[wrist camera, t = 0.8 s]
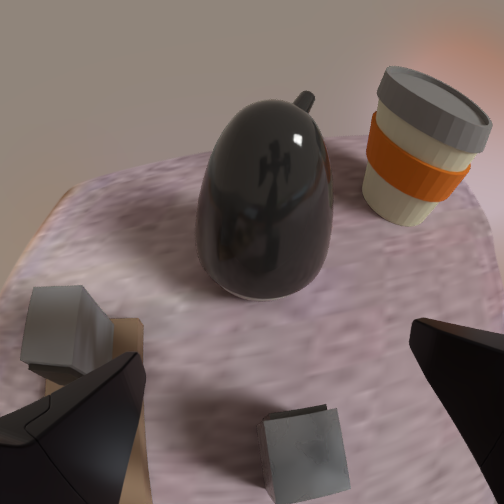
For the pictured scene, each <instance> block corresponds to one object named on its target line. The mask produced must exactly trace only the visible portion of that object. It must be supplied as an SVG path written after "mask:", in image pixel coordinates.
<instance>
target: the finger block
mask: <svg viewBox="0 0 504 504" xmlns="http://www.w3.org/2000/svg"><path fill="white" fill-rule="evenodd" d="M256 428H257V435H258V442H259V449H260V456H261V463H262V470H263V477H264V483H265V489H266V491H267V492H268V494H269V496H270V497H271V499H272V500H273V502H274V503H275V504H291V503H296V502H301V501H306V500H311V499H315V498H319V497H323V496H327V495H331V494H335V493H339V492H342V491H346V490H349V489H351V487H350V480H349V474H348V468H347V462H346V456H345V450H344V444H343V438H342V433H341V427H340V422H339V417H338V412H337V408H335V409H330V410H327V406H326V404H324V405H319V406H314V407H309V408H303V409H297V410H291V411H285V412H278V413H271V414H268V415H267V416H266V417H265V418H263V422H262V423H260V424H259V425H257V426H256Z"/></svg>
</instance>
